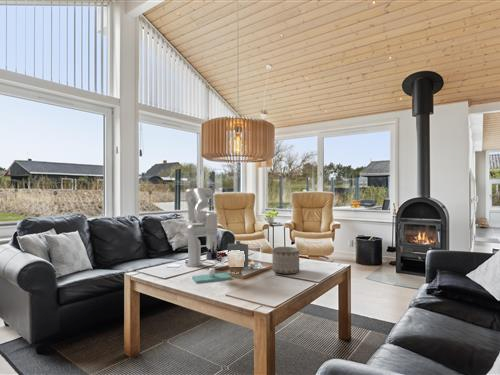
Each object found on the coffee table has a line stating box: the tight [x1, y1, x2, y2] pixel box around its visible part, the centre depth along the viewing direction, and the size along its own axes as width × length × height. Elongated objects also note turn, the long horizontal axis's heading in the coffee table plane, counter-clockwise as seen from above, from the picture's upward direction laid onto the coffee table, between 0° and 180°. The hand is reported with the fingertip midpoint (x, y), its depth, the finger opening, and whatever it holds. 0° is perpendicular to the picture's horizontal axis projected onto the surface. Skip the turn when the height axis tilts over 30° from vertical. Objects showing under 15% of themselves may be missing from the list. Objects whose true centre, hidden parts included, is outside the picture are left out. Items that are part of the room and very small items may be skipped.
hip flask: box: [227, 240, 249, 268], centre depth 248 cm, size 16×4×20 cm, turn 83°
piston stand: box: [192, 267, 233, 284], centre depth 217 cm, size 12×24×6 cm, turn 112°
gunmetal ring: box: [205, 250, 219, 261], centre depth 216 cm, size 7×7×5 cm
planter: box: [271, 246, 300, 275], centre depth 233 cm, size 19×19×16 cm
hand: (212, 257), depth 216 cm, fingers closed on gunmetal ring, 7 cm apart
